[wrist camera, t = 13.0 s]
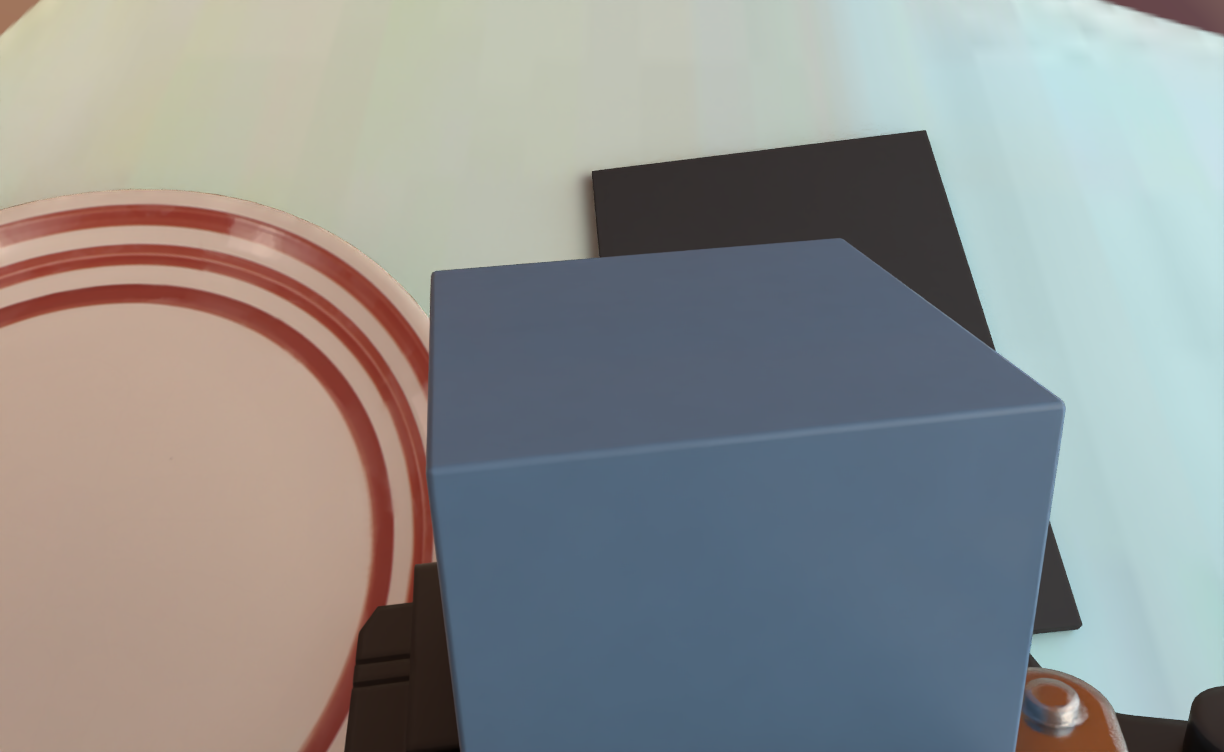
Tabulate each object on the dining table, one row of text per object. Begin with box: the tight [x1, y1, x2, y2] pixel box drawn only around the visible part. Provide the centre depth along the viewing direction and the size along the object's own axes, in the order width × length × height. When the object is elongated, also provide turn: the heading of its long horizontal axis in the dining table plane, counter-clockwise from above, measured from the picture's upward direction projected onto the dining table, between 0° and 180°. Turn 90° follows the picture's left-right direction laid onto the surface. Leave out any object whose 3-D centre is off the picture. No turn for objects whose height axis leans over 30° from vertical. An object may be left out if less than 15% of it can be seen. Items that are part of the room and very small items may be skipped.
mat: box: [592, 130, 1082, 634], centre depth 33 cm, size 12×18×1 cm, turn 5°
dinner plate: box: [0, 189, 437, 752], centre depth 30 cm, size 27×27×3 cm
